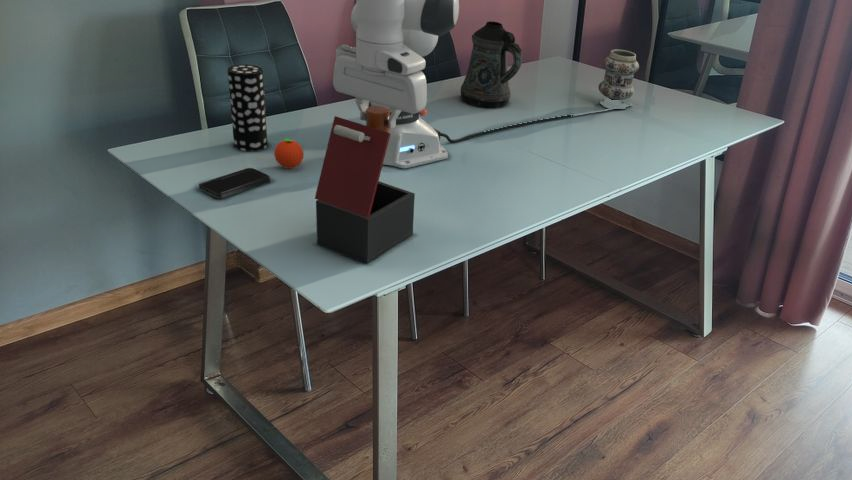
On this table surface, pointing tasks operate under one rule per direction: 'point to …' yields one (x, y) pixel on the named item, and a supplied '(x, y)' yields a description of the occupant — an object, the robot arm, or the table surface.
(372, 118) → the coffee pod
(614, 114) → the table surface
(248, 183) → the phone
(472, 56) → the beer stein
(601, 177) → the table surface
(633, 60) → the apothecary jar
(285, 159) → the clementine
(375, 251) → the dark grey box
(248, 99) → the white-spotted black cylinder
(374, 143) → the lid
